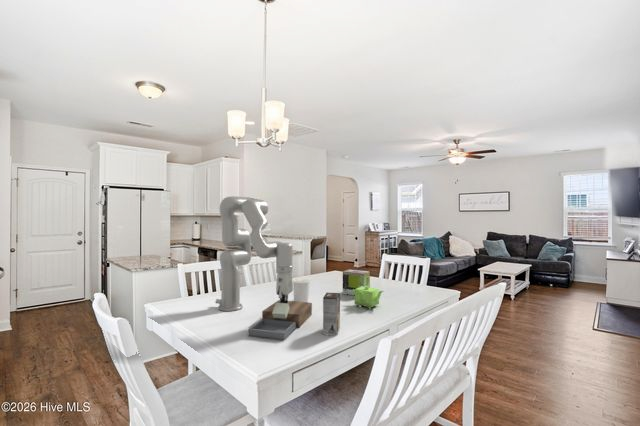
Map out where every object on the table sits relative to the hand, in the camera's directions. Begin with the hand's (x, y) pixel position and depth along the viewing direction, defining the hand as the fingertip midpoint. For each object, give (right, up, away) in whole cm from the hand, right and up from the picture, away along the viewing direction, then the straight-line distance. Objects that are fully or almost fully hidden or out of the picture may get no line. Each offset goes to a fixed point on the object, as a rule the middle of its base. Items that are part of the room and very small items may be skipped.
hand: (283, 308), depth 154 cm
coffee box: (+22, -7, -10) cm, 25 cm away
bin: (-3, -7, -12) cm, 14 cm away
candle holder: (+6, -7, +38) cm, 39 cm away
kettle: (+43, -8, +29) cm, 52 cm away
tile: (-1, -1, -4) cm, 4 cm away
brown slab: (+1, -7, +6) cm, 9 cm away
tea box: (+40, -7, +56) cm, 70 cm away
